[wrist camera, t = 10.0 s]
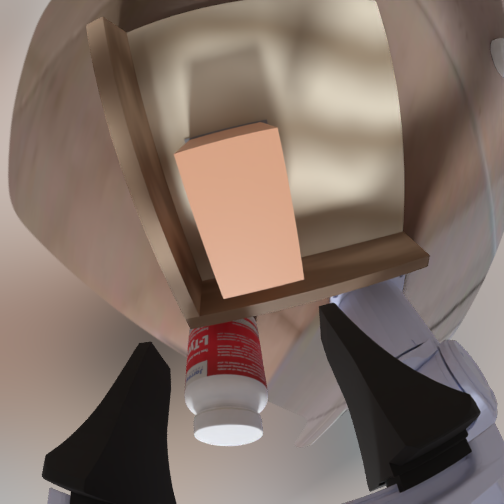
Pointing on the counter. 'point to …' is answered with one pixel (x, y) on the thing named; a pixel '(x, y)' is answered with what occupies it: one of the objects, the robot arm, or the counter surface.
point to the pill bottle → (226, 382)
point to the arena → (272, 113)
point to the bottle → (498, 54)
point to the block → (243, 207)
